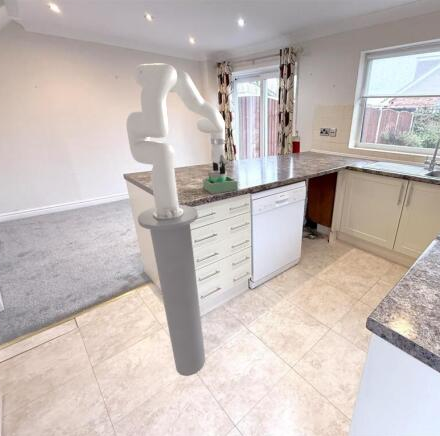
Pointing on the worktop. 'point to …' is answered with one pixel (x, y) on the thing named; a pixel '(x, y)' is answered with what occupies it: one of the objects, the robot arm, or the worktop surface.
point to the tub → (220, 185)
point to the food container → (217, 177)
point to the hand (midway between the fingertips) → (219, 172)
